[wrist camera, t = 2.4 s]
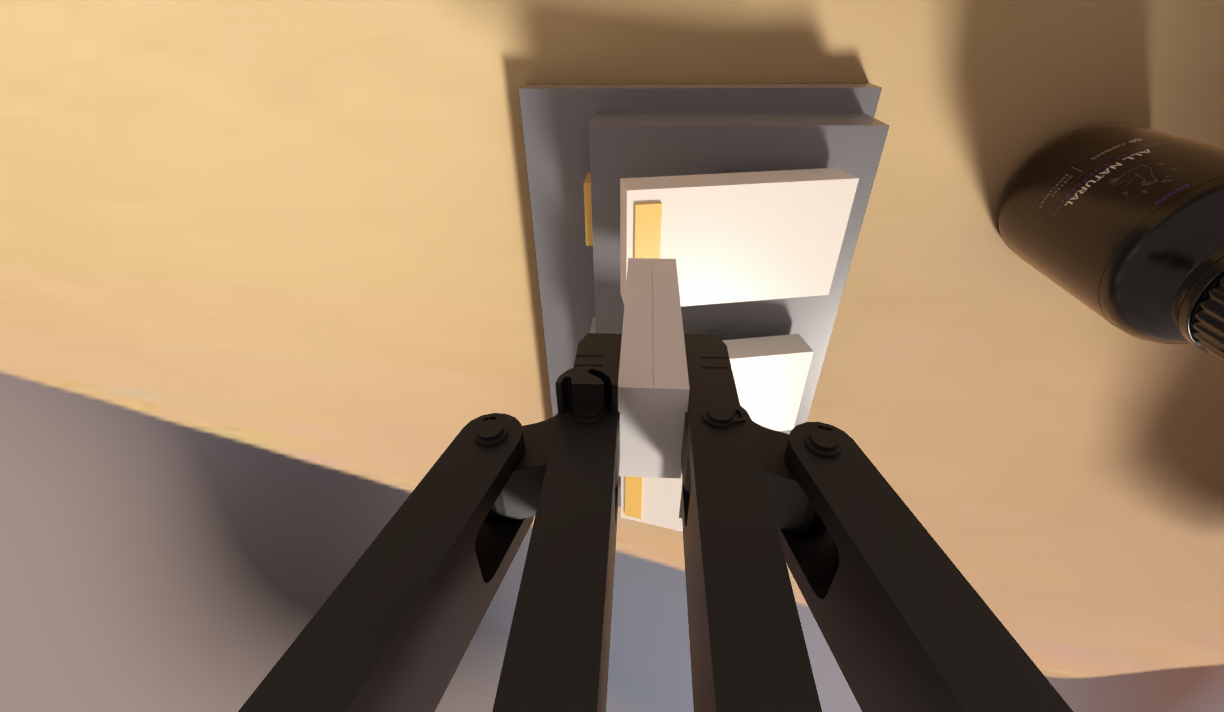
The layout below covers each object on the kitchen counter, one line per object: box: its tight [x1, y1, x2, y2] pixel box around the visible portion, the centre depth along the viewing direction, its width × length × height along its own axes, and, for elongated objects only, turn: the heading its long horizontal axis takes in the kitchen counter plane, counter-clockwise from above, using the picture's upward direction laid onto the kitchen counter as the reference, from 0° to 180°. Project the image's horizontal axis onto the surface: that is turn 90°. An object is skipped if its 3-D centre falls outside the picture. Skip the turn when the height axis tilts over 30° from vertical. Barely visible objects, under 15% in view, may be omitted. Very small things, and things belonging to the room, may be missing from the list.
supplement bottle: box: [998, 124, 1224, 362], centre depth 20 cm, size 7×7×12 cm
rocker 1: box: [621, 471, 683, 532], centre depth 30 cm, size 9×5×2 cm, turn 91°
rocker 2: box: [620, 168, 859, 307], centre depth 21 cm, size 9×5×2 cm, turn 91°
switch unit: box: [519, 83, 889, 506], centre depth 29 cm, size 16×26×6 cm, turn 1°
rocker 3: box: [722, 334, 814, 431], centre depth 25 cm, size 9×5×2 cm, turn 91°
